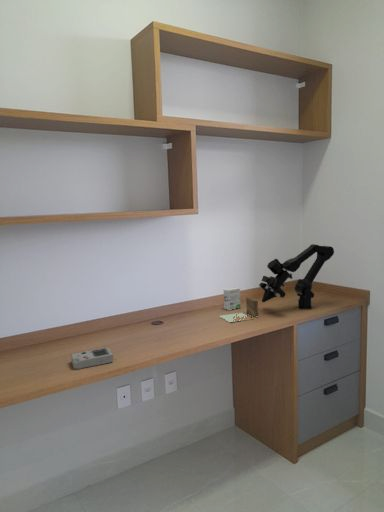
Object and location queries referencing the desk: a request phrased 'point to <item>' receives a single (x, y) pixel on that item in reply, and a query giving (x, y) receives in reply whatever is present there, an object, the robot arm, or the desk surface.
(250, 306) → the walnut plaque
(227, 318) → the green mat
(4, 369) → the desk surface
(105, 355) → the handheld gaming device
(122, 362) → the desk surface
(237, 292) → the ink box
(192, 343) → the desk surface
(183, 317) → the desk surface
